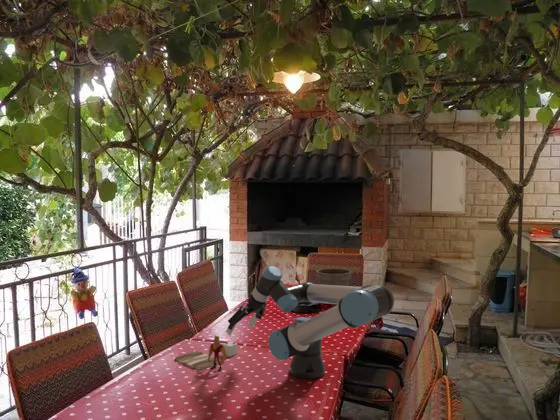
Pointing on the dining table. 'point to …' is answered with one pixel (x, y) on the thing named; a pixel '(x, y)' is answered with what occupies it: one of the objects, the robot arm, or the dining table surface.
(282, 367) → the dining table surface
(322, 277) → the plant pot
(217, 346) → the action figure
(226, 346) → the die
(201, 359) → the board
